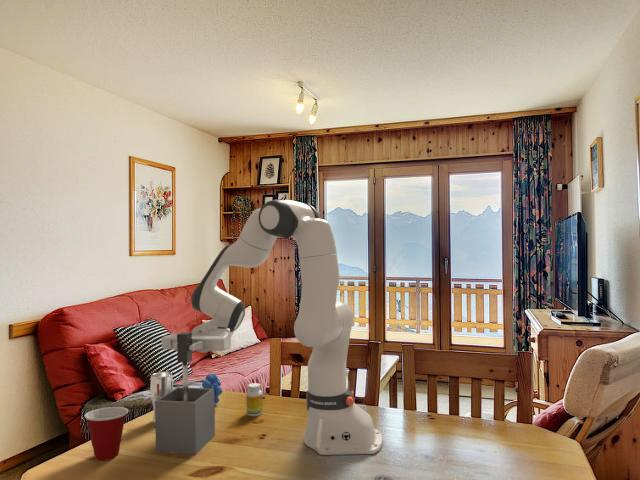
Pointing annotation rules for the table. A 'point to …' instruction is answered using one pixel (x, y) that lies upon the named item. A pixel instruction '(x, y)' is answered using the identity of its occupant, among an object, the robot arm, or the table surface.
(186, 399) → the plunger
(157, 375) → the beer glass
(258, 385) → the supplement bottle
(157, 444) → the box
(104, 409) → the plastic cup
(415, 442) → the table surface
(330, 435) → the robot arm
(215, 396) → the grapes
